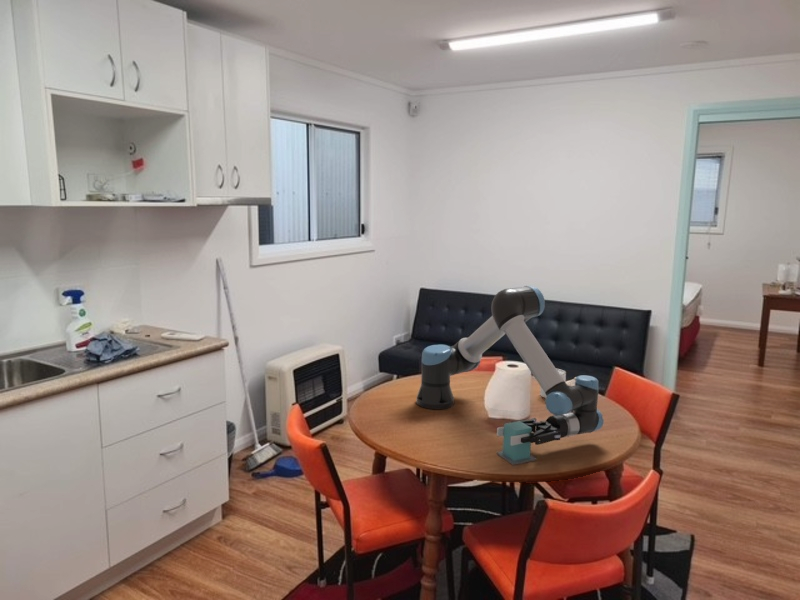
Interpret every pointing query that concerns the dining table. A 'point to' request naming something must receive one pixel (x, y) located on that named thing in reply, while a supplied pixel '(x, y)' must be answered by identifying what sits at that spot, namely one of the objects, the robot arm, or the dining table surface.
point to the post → (515, 460)
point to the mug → (563, 375)
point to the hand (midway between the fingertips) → (504, 436)
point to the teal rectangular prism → (520, 449)
